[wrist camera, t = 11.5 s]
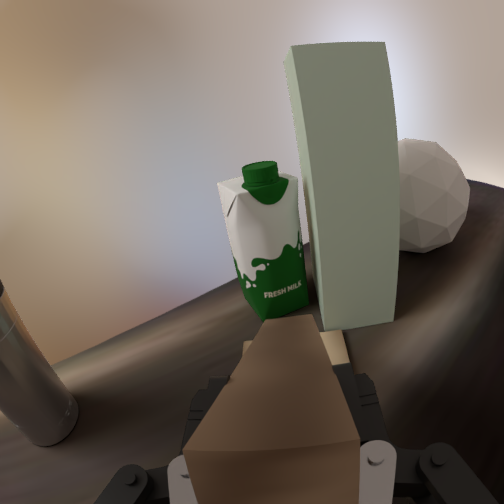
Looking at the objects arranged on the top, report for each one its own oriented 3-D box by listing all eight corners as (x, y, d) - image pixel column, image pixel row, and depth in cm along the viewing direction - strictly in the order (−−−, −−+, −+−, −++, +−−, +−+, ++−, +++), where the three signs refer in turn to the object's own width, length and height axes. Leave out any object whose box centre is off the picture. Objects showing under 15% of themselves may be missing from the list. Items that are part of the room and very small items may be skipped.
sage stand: (324, 332, 38) (290, 45, 24) (313, 277, 49) (283, 62, 35) (393, 321, 37) (384, 42, 23) (368, 269, 48) (350, 57, 34)
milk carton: (260, 330, 41) (228, 177, 32) (237, 297, 48) (207, 167, 39) (318, 305, 43) (303, 159, 34) (288, 277, 51) (268, 152, 42)
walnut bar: (213, 549, 6) (182, 449, 6) (270, 363, 27) (265, 319, 27) (355, 543, 5) (360, 438, 6) (316, 358, 26) (311, 313, 26)
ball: (387, 281, 56) (321, 198, 55) (435, 216, 60) (380, 142, 59) (461, 276, 37) (381, 159, 36) (501, 195, 42) (438, 100, 41)
